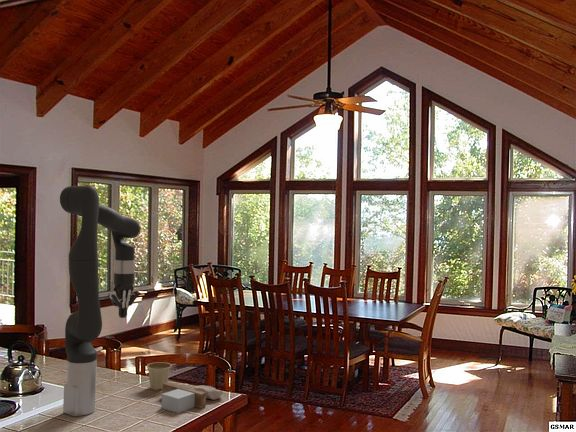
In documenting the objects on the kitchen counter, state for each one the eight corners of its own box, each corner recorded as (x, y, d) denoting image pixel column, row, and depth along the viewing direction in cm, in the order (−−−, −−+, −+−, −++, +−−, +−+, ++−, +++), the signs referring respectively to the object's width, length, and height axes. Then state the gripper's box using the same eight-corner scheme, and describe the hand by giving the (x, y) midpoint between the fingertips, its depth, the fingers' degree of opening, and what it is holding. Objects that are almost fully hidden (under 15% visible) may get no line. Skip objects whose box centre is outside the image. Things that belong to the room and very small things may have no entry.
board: (200, 408, 202) (201, 394, 202) (162, 397, 213) (162, 383, 213) (205, 406, 204) (206, 392, 204) (166, 395, 215) (167, 382, 215)
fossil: (203, 384, 221) (224, 378, 217) (207, 401, 219) (228, 395, 215) (188, 387, 213) (209, 381, 209) (192, 405, 212) (214, 399, 207)
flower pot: (168, 392, 219) (168, 369, 219) (143, 391, 220) (143, 368, 219) (173, 384, 229) (174, 362, 229) (149, 383, 229) (150, 361, 229)
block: (178, 413, 197) (178, 398, 197) (161, 408, 202) (161, 393, 202) (194, 407, 204) (195, 393, 204) (178, 402, 208) (178, 388, 208)
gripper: (116, 273, 214) (115, 321, 214) (144, 271, 225) (142, 316, 225) (103, 272, 218) (101, 318, 218) (131, 270, 229) (129, 314, 229)
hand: (122, 317), depth 221 cm, fingers closed
